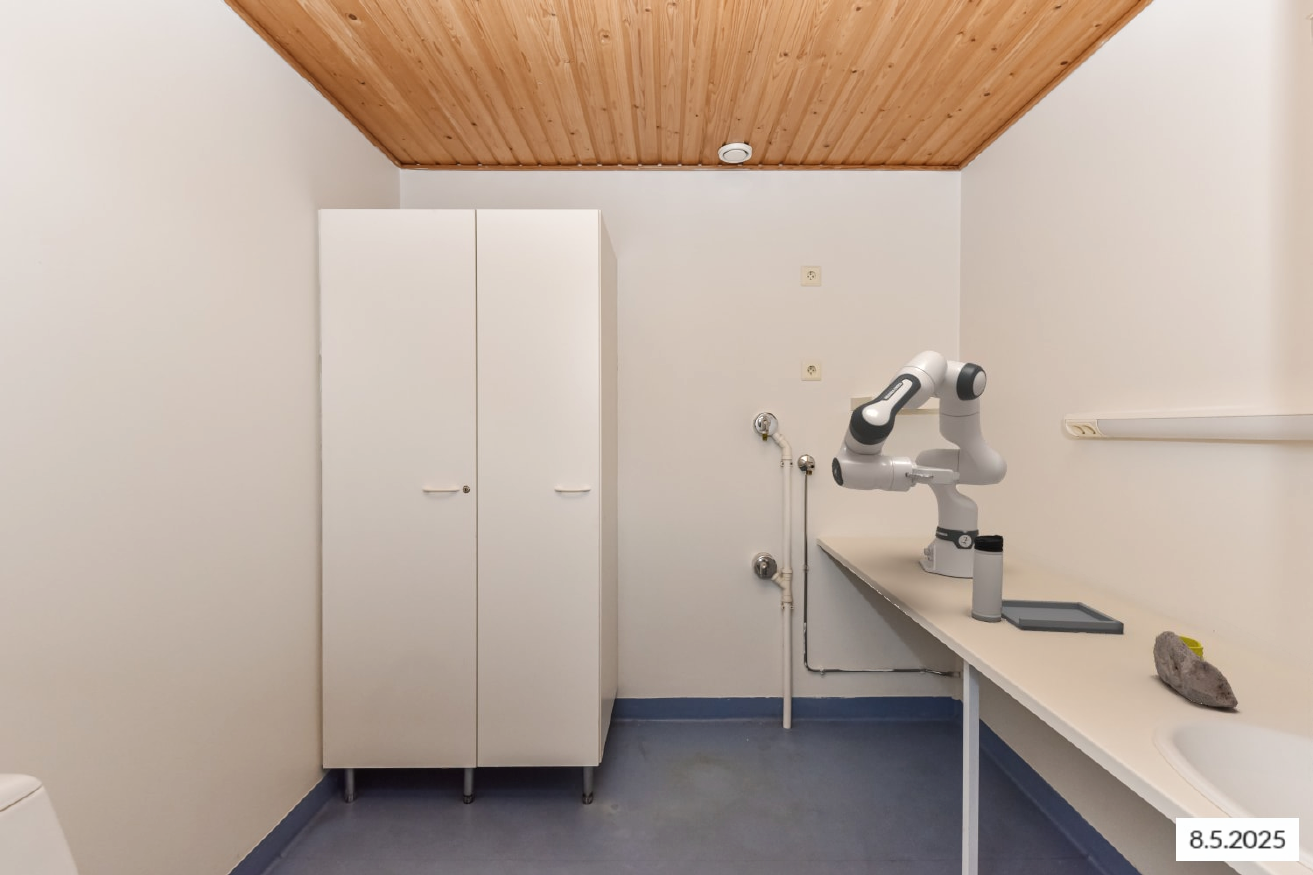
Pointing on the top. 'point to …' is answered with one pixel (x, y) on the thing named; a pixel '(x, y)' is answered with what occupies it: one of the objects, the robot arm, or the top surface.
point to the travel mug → (987, 578)
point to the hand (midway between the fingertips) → (957, 475)
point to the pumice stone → (1191, 673)
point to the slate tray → (1058, 617)
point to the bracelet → (1192, 645)
